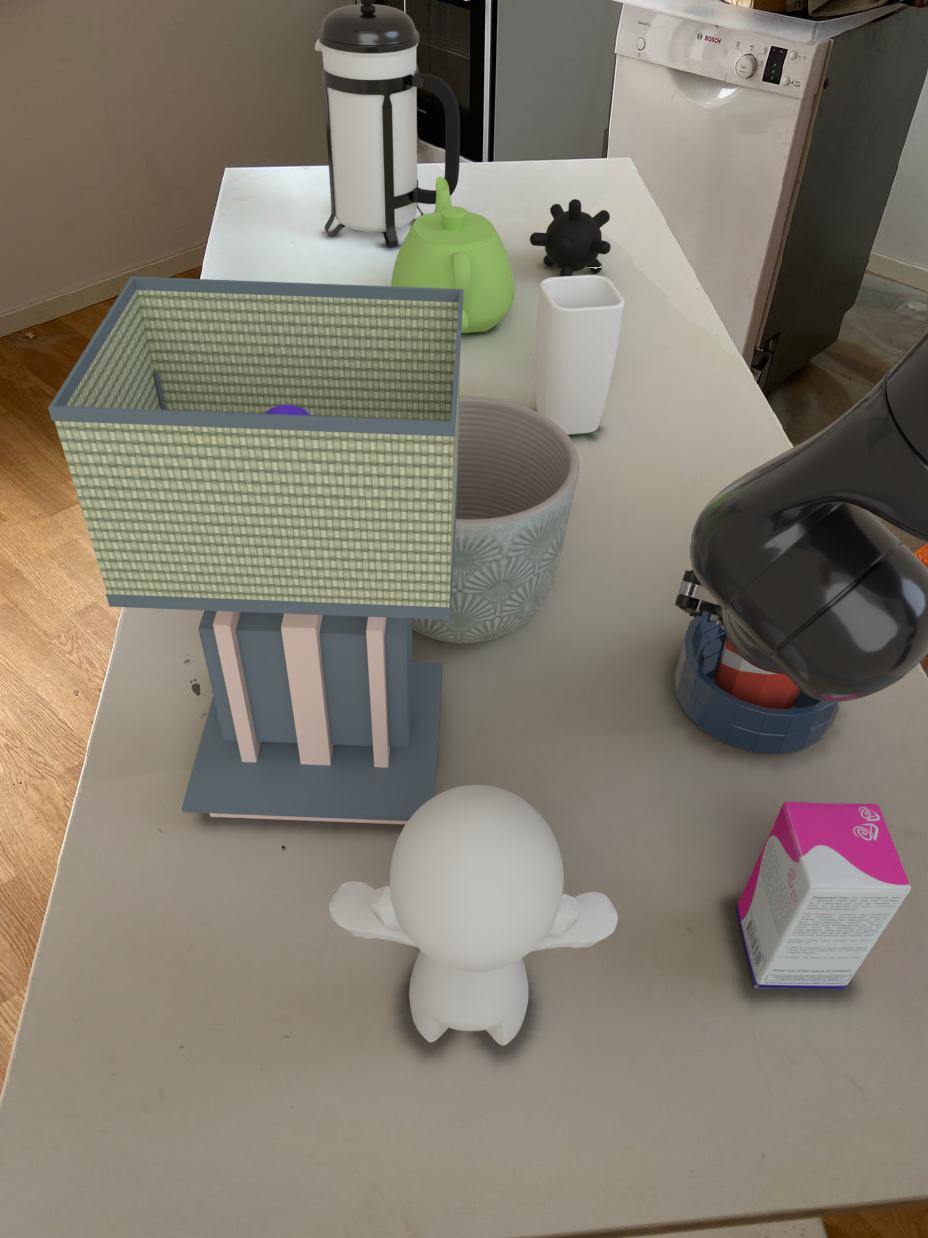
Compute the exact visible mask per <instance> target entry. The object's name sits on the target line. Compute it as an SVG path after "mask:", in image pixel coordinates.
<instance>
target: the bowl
mask: <svg viewBox="0 0 928 1238" xmlns="http://www.w3.org/2000/svg"><path fill="white" fill-rule="evenodd" d="M710 617H711V613H708V612H705V611H703V614H702V617H699V616H696V617H693V618H692V619H691V621H690V622H689V623H688V626H687V629H686V632H685V633H684V637H683V641H682V644H681V649H680V652H679V657H678V660H677V664H676V667H675V672H674V675H673V679H674V689H675V696H676V698H677V700H678V702H679V704H680V706H681V708H682V710H683V712H684V713H685V715H686V716H687V717H688V718H689V719H690V720H691V721H692V722H693V723H694V724H695V725H696V726H697V727H698V728H699V729H700V730H702V731H703V732H704V733H706V734H707V735H709V736H710V737H712V738H714V739H715V740H717V741H719V742H721V743H722V744H725V745H727V746H731V747H734V748H737V749H740V750H743V751H746V752H748V753H756V754H757V753H758V754H769V755H784V754H788V753H789V754H790V753H793V752H799V751H803V750H805V749H806V748H808V747H810V746H812V745H814V744H815V743H818V742H819V741H821V740H822V739H823V737H824V736H825V735H826V733H827V732H828V730H829V729H830V728H831V727H832V726H833V723H834V721H835V718H836V716H837V714H838V712H839V710H840V707H841V706H842V703H843V701H841V702H828V701H821V700H817V699H814V698H811V697H809V696H808V695H806V694H805V693H803V692H802V691H801V690H800V693H799V695H798V698H797V700H796V703H795V705H794V706H793V707H791V708H790V709H777V708H765V707H762V706H758V705H755V704H752V703H749V702H745V701H742V700H740V699H738V698H736V697H735V696H733V695H731V694H729V693H728V692H726V691H724V690H722V689H720V688H719V687H718V686H717V685H716V684H715V678H716V671H717V667H718V664H719V660H720V657H721V654H722V650H723V647H724V644H725V640H726V637H727V635H726V633H725V630H724V629H722V628H721V625H717V624H714V621H711V620H710Z"/></svg>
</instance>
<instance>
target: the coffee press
mask: <svg viewBox="0 0 928 1238" xmlns="http://www.w3.org/2000/svg"><path fill="white" fill-rule="evenodd" d="M359 1H360V2H361V3H360V4H349V5H345V6H340V7H338V8H336V9H333V10H332V11H330V12H329V13H328V14H327V15H325V17H324V19H323V21H322V23H321V28H320V29H319V30H318V31H317V37H318V38H317V40H316V42H315V46H314V51H316V52H321V54H322V63H321V79H322V83H323V98H324V99H323V101H324V111H325V112H324V116H325V129H326V143H327V145H326V147H327V161H328V176H329V192H330V193H329V194H330V215H329V218H328V219H327V221H326V223H325V225H324V231H325V233H327V235H328V236H329V237H335V236H336V235H338V234H339V232H340V231H341V230H342V229H344V228H346V227H347V228H348V229H351V230H355V231H358V232H364V233H365V232H366V233H382V235H383V239H384V242H385V245H386V247H387V248H394V247H398V245H399V238H398V234H397V230H399V229H402V228H404V227H406V226H408V225H409V224H410V223H411V222H413V221H414V222H415V220H416V219H415V217H416V215H417V212H418V211H419V213H420V216H422V215H424V214H425V213H424V212H423V211H422V210H421V208H420V207H419V204H424V205H436V189H425V188H420V187H419V179H418V111H417V110H418V107H417V106H418V102H417V100H418V98H417V97H418V95H417V94H418V93H417V91H418V90H417V89H418V88H419V89H424V91H428V92H431V93H433V94H434V95H436V96H437V97H438V99H439V100H440V102H441V104H442V106H443V110H444V118H445V119H444V120H445V121H444V122H445V126H444V127H445V129H444V130H445V133H444V134H445V137H444V178H445V180H446V181H447V183H448V186H449V192H450V197H451V196H452V195H453V194H454V193H455V191H456V188H457V186H458V182H459V176H460V160H461V159H460V158H461V157H460V156H461V112H460V106H459V101H458V99H457V95H456V93H455V91H454V90H453V88H452V87H451V85H450V84H449V83H448V82H447V81H446V80H445V79H443V78H441V77H439V76H437V75H435V74H432V73H425V74H424V73H419V64H418V63H417V47H418V45H419V43H420V32H419V31H418V30H417V28H416V26H415V23H414V21H413V19H412V18H411V17H410V16H409V14H407V13H406V12H404V11H403V10H401V9H399V8H396V7H393V6H389V5H383V4H375V1H376V0H359ZM335 219H336V220H337V221H338V222H339V223H338V224H337V225H336V226H335V227H334V228H333V230H331V231H329V230H330V228H331V226H332V225H333V223H334V220H335Z"/></svg>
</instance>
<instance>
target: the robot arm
mask: <svg viewBox="0 0 928 1238" xmlns="http://www.w3.org/2000/svg"><path fill="white" fill-rule="evenodd" d="M878 518H880V519H882V520H884V521H885V522H887V523H889V524H890V525H892V526H894V527H896V528H898V529H899V530H902V531H903V532H905V533H907V534H909V535H911V536H913V537H914V538H916V539H918V540H920V541H923V542H925V543H928V327H927V328H926V329H925V330H924V331H923V333H922V334H921V335H920V336H918V338H917V339H916V340H915V341H914V342H913V344H911V345H910V346H909V348H908V349H907V350H906V351H905V352H904V353H902V355H901V357H900V358H899V359H898V360H897V361H896V362H895V363H894V364H893V365H892V367H890V369H888V370H887V372H885V373H884V374H883V376H881V378H879V380H878V381H877V382H876V383H875V384H874V385H872V387H871V388H869V390H868V391H867V392H865V394H864V395H862V396H861V397H860V398H858V400H857V401H856V402H855V403H853V405H852V406H850V407H849V408H848V409H846V410H845V411H844V412H843V413H842V414H840V415H839V416H838V417H837V418H835V419H833V421H831V422H830V423H828V424H827V425H826V426H824V427H823V428H822V429H820V430H818V431H817V432H815V433H813V434H812V435H811V436H809V437H807V438H806V439H804V440H803V441H801V442H800V443H798V444H797V445H795V446H793V447H791V448H790V449H788V450H786V451H784V452H782V453H780V454H779V455H777V456H775V457H773V458H771V459H770V460H768V461H766V462H764V463H762V464H760V465H759V466H757V467H755V468H753V469H752V470H749V471H748V472H746V473H744V474H743V475H742V476H740V477H739V478H737V479H735V480H733V482H731V483H729V484H728V485H727V486H725V487H724V488H723V489H722V490H720V491H719V492H718V493H717V494H716V495H715V496H713V498H712V499H711V500H710V501H709V502H707V504H706V505H705V506H704V508H703V509H702V511H701V512H700V514H699V516H698V518H697V519H696V522H695V524H694V526H693V529H692V532H691V538H690V544H689V558H690V565H691V568H692V569H690V570H687V569H685V570H684V574H683V577H682V579H681V582H680V586H679V589H678V591H677V596H676V599H675V602H674V605H675V606H676V607H677V608H678V609H680V610H682V611H683V612H684V613H686V614H688V616H690V617H692V618H695V617H696V616H699V617H702V614H703V611H705V612H708V613H711V617H710V620H711V621H714V624H717V625H721V628H722V629H724V630H725V633H726V635H727V638H728V640H729V642H730V643H731V645H732V646H733V648H734V649H735V651H736V652H737V653H738V654H739V655H740V656H741V657H742V658H743V659H744V660H746V661H747V662H748V663H750V664H752V665H753V666H755V667H757V668H759V669H762V670H764V671H768V672H772V673H778V674H786V675H787V676H788V677H789V679H790V680H791V681H792V682H793V683H794V684H795V685H796V686H797V687H798V688H799V689H800V690H801V691H802V692H803V693H805V694H806V695H808V696H809V697H811V698H814V699H817V700H821V701H828V702H841V701H842V702H847V701H853V700H857V699H861V698H865V697H867V696H871V695H873V694H876V693H878V692H881V691H883V690H885V689H886V688H888V687H890V686H892V685H894V684H895V683H897V682H898V681H900V680H901V679H903V678H904V677H905V676H906V675H908V674H909V673H910V672H911V671H912V670H914V669H915V668H916V667H917V666H918V665H919V664H920V663H921V662H922V660H923V659H924V658H925V657H926V656H927V654H928V567H927V566H926V565H925V563H923V561H922V560H920V559H919V557H918V556H917V555H915V553H913V551H911V549H909V548H908V546H906V545H905V544H903V543H901V544H900V542H901V540H900V539H899V538H898V537H897V536H896V535H895V534H894V533H893V532H892V531H891V530H890V529H889V528H888V527H887V526H886V525H885V524H884V523H882V521H880V519H878Z"/></svg>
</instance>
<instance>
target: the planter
mask: <svg viewBox="0 0 928 1238" xmlns="http://www.w3.org/2000/svg"><path fill="white" fill-rule="evenodd" d="M458 462H459V469H458V489H457V508H456V526H455V544H454V563H453V581H452V599H451V618H450V620H439V619H414V618H412V631H415V632H416V633H418V634H420V635H422V636H425V637H427V638H429V639H433V640H436V641H440V642H443V643H449V644H464V645H465V644H476V643H482V642H483V643H484V642H487V641H491V640H495V639H498V638H500V637H503V636H505V635H507V634H510V633H511V632H513V631H515V630H517V629H519V628H520V627H521V626H523V625H524V624H526V622H528V621H530V619H531V618H532V617H533V616H534V615H535V614H536V613H537V612H538V610H539V609H540V607H541V606H542V605H543V603H544V602H545V600H546V599H547V597H548V595H549V593H550V592H551V589H552V587H553V584H554V581H555V579H556V576H557V574H558V573H557V572H558V569H559V564H560V559H561V555H562V551H563V546H564V542H565V537H566V533H567V527H568V523H569V519H570V514H571V510H572V505H573V500H574V496H575V491H576V486H577V482H578V478H579V473H580V458H579V454H578V450H577V448H576V446H575V444H574V442H573V440H572V439H571V437H570V435H569V436H568V435H567V434H566V433H565V432H564V431H563V429H562V428H560V427H559V426H558V425H557V424H556V423H554V422H553V421H551V420H550V419H549V418H547V417H545V416H543V415H542V414H540V413H538V412H537V410H533V409H532V408H529V407H526V406H523V405H521V404H518V403H514V402H511V401H507V400H503V399H497V398H493V397H486V396H474V395H459V429H458Z"/></svg>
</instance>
